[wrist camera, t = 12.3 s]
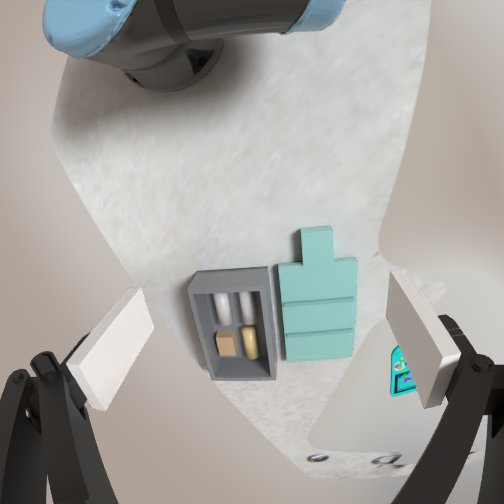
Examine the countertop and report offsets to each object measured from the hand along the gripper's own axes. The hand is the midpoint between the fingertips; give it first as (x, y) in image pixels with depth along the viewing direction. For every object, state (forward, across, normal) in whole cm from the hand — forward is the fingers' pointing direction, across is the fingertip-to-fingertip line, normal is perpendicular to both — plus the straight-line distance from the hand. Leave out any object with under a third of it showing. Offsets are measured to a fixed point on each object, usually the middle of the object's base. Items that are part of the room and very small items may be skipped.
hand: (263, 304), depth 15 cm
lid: (+29, +5, -17) cm, 34 cm away
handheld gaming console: (+29, +24, -36) cm, 52 cm away
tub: (+29, -8, -20) cm, 36 cm away
